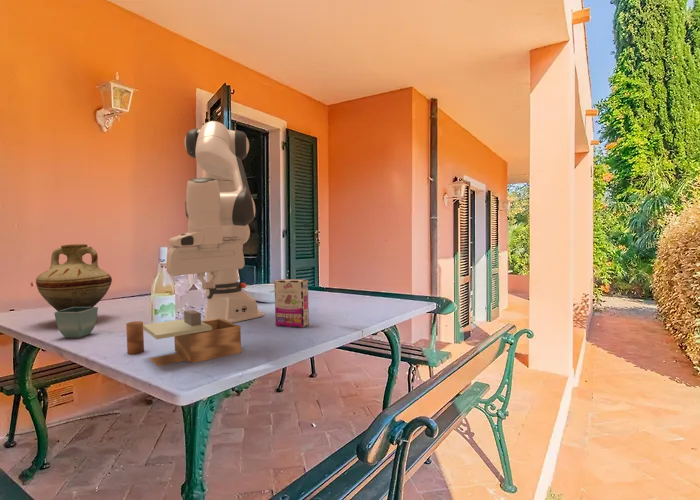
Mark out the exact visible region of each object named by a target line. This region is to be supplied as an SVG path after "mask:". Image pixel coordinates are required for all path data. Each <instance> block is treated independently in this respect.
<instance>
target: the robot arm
mask: <svg viewBox="0 0 700 500" xmlns="http://www.w3.org/2000/svg"><path fill="white" fill-rule="evenodd" d="M184 148H185V151H186V153H187V155H188V156H189V157H190V158H192V159H195V160H196V163H197V164H198V166H199V167H200V168H201V169H202V170H203V171H204V177H194V178H190V179H188V181H187V182H186V183H187V184H186V185H187V186H186V191H185V192H186V194H185V197H186V198H185V202H184V205H185V215H186V218H187V219H188V223H187V232H184V233H181V234H179V235H176V236H172V237H171V238H169V240H168V241H169V243H168V244H169V245H170V248H168V250H167V253H166V261H165V262H166V266H165V267H166V269H165V270H166V272H167V273H166V274H168V275H169V276H172V277H175V276H185V275H186V276H187V275H193V274H194V275H195V274H197V276H196V277H197V278H198V280H199V281H200V282H201V285H202V287H201V288H202V290H205V294H206V295H205V296H206V306H205V308H206V309H205V314H204V318H203V321H206V320H212V319H219V318H221V319H224V320H226V321H228V322H231V323H233V324H234V323H238V322H243V321H246V320H251V319H256V318H261V317H264V316H265V314H264V312H263V311H261V310H259V309H258V308H259V307H258V303H257V301H256V299H255V298H253V297H252V296H250V295H249V294H247V293H246V292H244V291H243V289H246V288H247V282H239V281H238V270H242V269H243V268H244V267H245V263H246V262H245V256H244V251H243V249H244V244H246V243H247V242H248V240H249V239H250V235H251V229H250V226H249V224H250V223H252V221H254V219H255V217H256V204H255V201H254V199H253V197H252V194H251V193H252V192H251V190H250V186H249V184H248V183H249V182H248V179H247V174H246V172H245V171H246V170H245V168H244V165H243V162H242V161H243V160H244V159H245V158H246V157H247V156H248V153H249V150H250V142H249V139H248V137H247V134H246V132H244V131H241V130H237V129H235V130H231V129H228V128H227V127H226V126H225V124H223V123H221V122H219V121H217V120H216V121H215V120H210V121H207V122H205V123H204V124H203V125H202V126H201V128H193V129H190V130H188V131H187V132H186V134H185V137H184ZM205 277H206V280H205Z"/></svg>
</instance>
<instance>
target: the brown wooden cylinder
mask: <svg viewBox="0 0 700 500" xmlns="http://www.w3.org/2000/svg"><path fill="white" fill-rule="evenodd" d="M125 325H126V347H127V349H126V350H127V354H128V355H137V354H138V355H139V354H142V353H144V351H145V341H144V329H143V325H144V321H142V320H141V321H140V320H139V321H136V320H135V321H130V322H127V323H125Z"/></svg>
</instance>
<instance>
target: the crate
mask: <svg viewBox="0 0 700 500" xmlns="http://www.w3.org/2000/svg"><path fill="white" fill-rule="evenodd" d="M201 321H202V322H204V323H206V324H208V325H210V326H212V330H210V331H204V332H198V333H192V334H186V335H180V336H174V351H175V353H172V354H171V353H170V354H166V355H161V356H160V355H159V356H154V357H151V358H149V360H150V361H151V362H152V363H153V364H154V365H156V367H161V366H162V367H163V366H167V365H172V364H176V363H180V362H186V361H187V362H189V363H191V364H194V363H198V362H203V361H208V360H212V359H217V358H222V357H227V356H232V355H236V354H241V353H242V338H241V337H242V333H241V331H242V330H241V326H240V325H238V324H236V323H234V322H233V323H231V322H228V321H226V320H224V319H221V318H219V319H212V320H206V321H204V320H201Z"/></svg>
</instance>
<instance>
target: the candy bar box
mask: <svg viewBox="0 0 700 500" xmlns="http://www.w3.org/2000/svg"><path fill="white" fill-rule="evenodd" d="M273 283H274V307H275V308H274V309H275V310H274V311H275V312H274V313H275V326H276V327H284V328H286V327H287V328H300V329H301V328H302V329H303V328H305V327H308V326H309V325H310V317H309V314H310V313H309V279H287V278H286V279H284V278H283V279H282V278H281V279H276V280H274V282H273Z"/></svg>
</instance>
